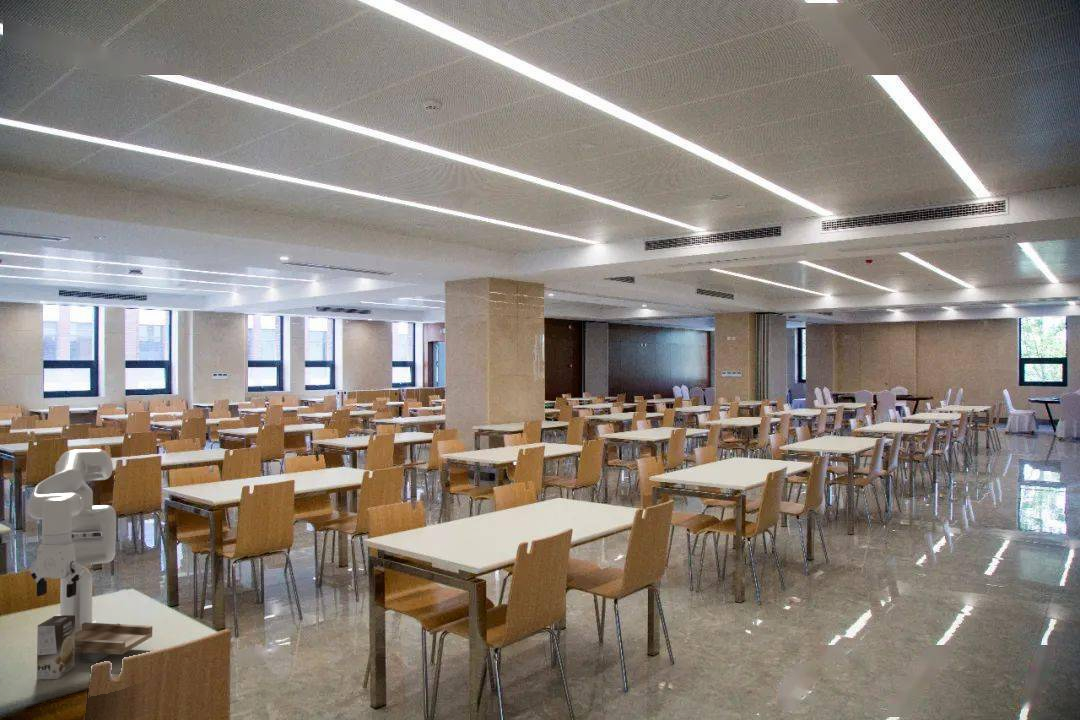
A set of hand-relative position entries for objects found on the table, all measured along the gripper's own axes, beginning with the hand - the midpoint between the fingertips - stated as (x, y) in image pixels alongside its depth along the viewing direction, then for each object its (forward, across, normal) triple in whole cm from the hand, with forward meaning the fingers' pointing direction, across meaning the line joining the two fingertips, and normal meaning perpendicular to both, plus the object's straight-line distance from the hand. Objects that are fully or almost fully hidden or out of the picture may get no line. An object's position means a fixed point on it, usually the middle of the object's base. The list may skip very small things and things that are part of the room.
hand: (56, 595), depth 225 cm
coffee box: (+24, 0, +1) cm, 24 cm away
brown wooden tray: (+23, +4, +16) cm, 28 cm away
